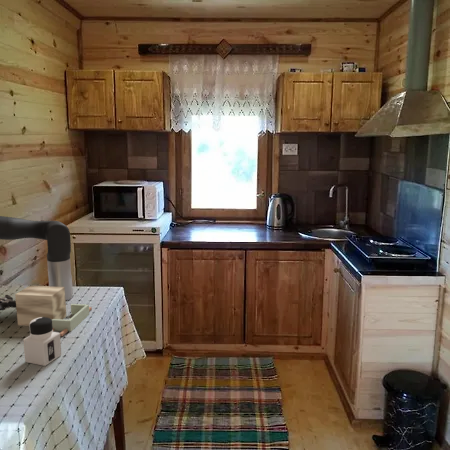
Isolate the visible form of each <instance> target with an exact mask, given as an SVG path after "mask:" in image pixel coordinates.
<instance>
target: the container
mask: <svg viewBox="0 0 450 450" xmlns="http://www.w3.org/2000/svg"><path fill="white" fill-rule="evenodd" d="M28 327H29V335H28V336H26V337H25V338H23V349H24V350H23V352H24V362H25V363H28V364H34V365H39V366H43V367H46V366H47V365H49V364H50V363H52V362H53V361H55V360H57V358H59V357H61V356H62V344H61V343H62V342H61V337H60V333H58V332H53V326H52V320H51V319H50V318H47V317H40V318H36V319H34V320H32V321H31V322H30V323H29V326H28Z"/></svg>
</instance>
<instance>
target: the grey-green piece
mask: <svg viewBox="0 0 450 450" xmlns="http://www.w3.org/2000/svg"><path fill="white" fill-rule="evenodd" d="M92 308H93V307H92V306H90V304H86V303H84V304H83V303H82V304H79V303H71V304H70V313H71V315H72V317H70V318H69V319H52V326H53V332H58V333H60V338H63V337H64V336H65V335H66V334H68V332H72V331H73V330H75V329H76V328H77V327H78V326H79V325H80V324H81V323H82V322H83V321H84V320H85V319H86V318H87V317H88V316H90V312H91V311H92V310H93V309H92Z"/></svg>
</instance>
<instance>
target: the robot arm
mask: <svg viewBox="0 0 450 450" xmlns="http://www.w3.org/2000/svg"><path fill="white" fill-rule="evenodd" d="M22 239H39V240H43V241H46V242H47V243H46V244H47V254H46V261H47V262H46V263H47V276H48V277H47V278H48V286H51V287H65V301H69V300H70V299H72V298H73V296H74V295H73V293H74V292H73V290H74V289H73V277H72V265H71V252H72V248H71V247H72V246H71V245H72V244H71V241H72V240H71V233H70V229H69V227H68V226H67V225H66V224H64V223H63V222H61V221H59V220H32V219H31V220H29V219H24V218H17V217H12V216H5V215H0V240H4V241H10V240H12V241H13V240H22ZM10 308H13V309H14V308H15V309H16V300H14V298H13V297H12V296H10V295H9V294H5V295H4V297H1V296H0V311H4V310H6V309H10Z"/></svg>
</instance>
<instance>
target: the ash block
mask: <svg viewBox="0 0 450 450" xmlns="http://www.w3.org/2000/svg"><path fill="white" fill-rule="evenodd" d="M14 296H15V297H14V298H15V301H16V308H15V309H16V319H17V320H16V321H17V325H18V326H24V327H25V326H28V327H29V323H30V322H31V321H32V320H34V319H36V318H40V317H47V318H50V319H51V320H52V319H63V320H65V319H66V317H67V303H66V302H67V300H65V287H51V286H49V285H48V286H47V285H45V286H44V285H29V286H27V287H25V288H23V289H22V290H21V291H19V292H17V293H15V294H14Z"/></svg>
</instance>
